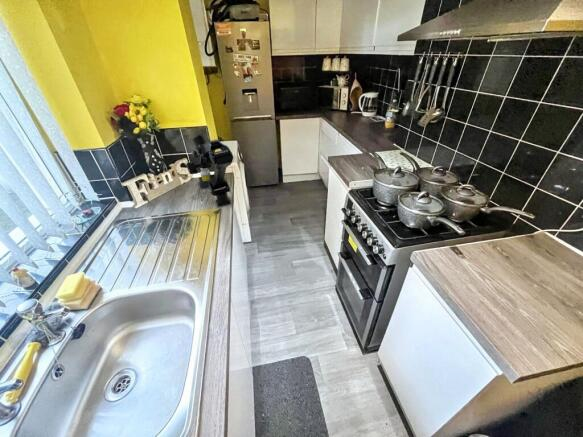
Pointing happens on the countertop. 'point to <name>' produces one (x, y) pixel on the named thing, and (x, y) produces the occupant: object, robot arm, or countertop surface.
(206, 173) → the supplement bottle
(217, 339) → the countertop surface
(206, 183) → the pad socket
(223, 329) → the countertop surface
